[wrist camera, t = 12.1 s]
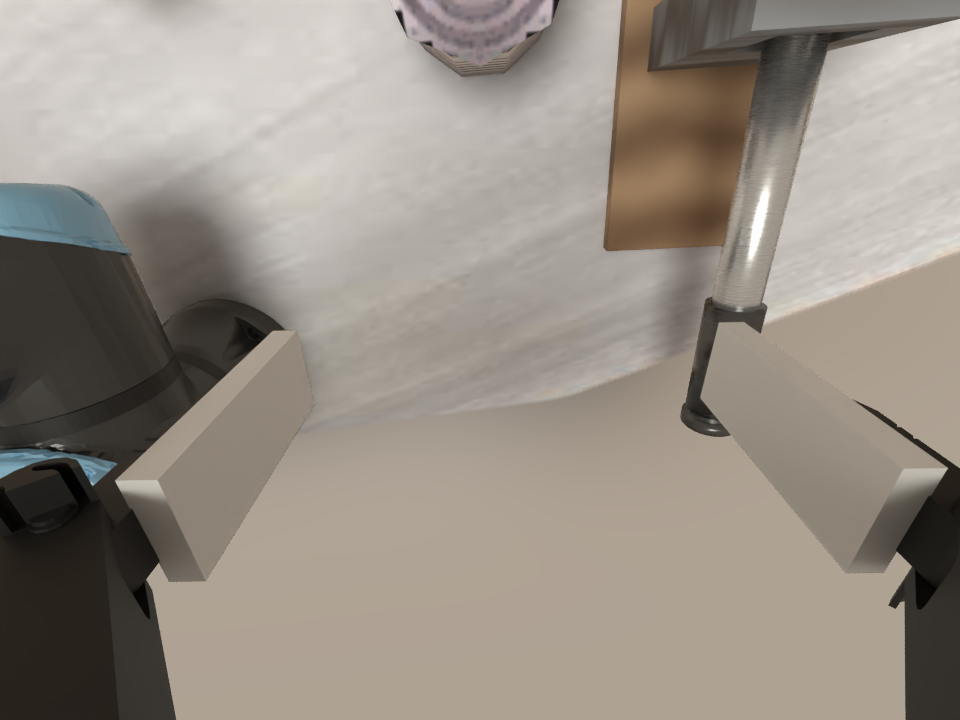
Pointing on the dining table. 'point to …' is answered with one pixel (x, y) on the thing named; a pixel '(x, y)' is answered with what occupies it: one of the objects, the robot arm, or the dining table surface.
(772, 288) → the dining table surface
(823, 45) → the shaft
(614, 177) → the bearing block stand
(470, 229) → the dining table surface
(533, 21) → the can
